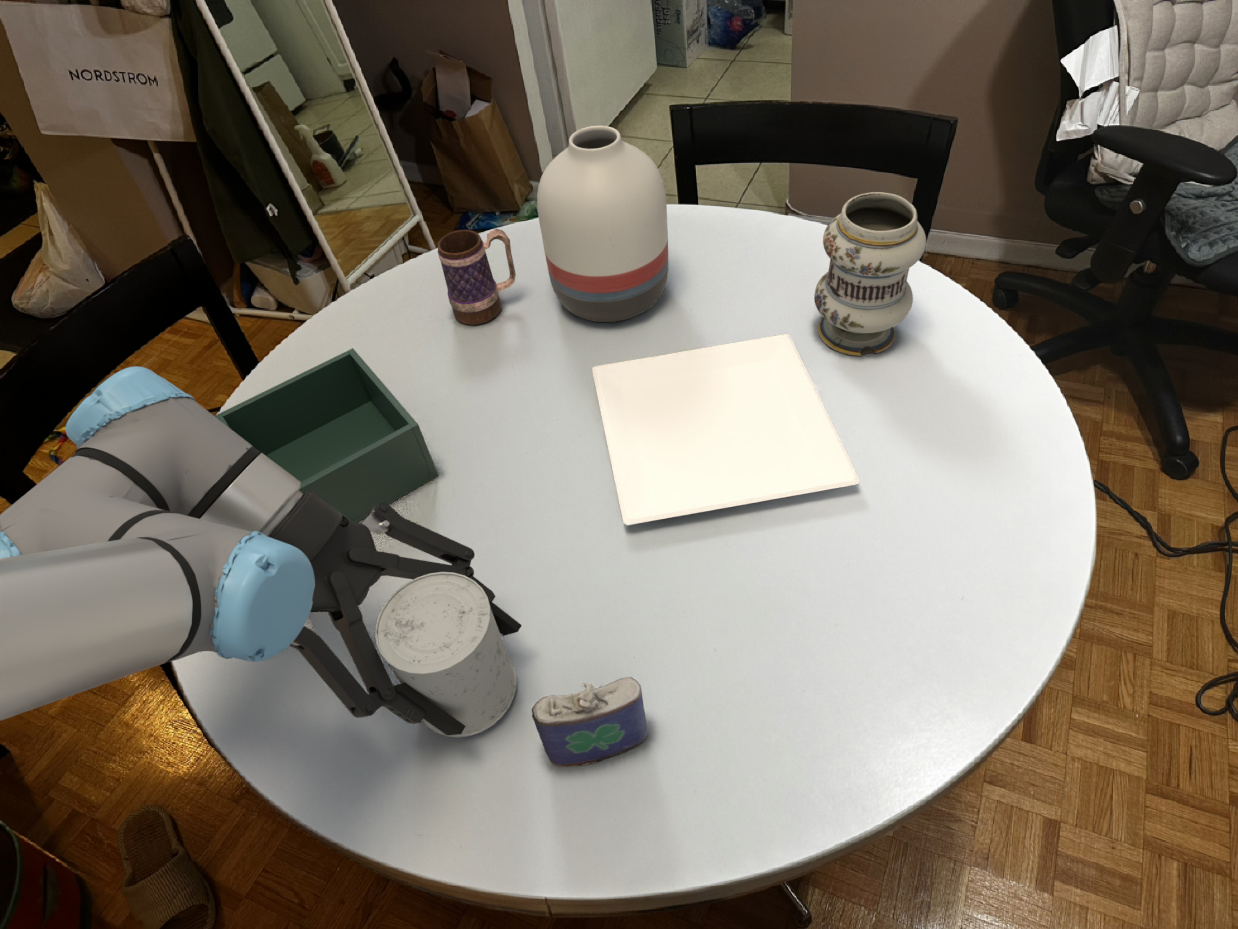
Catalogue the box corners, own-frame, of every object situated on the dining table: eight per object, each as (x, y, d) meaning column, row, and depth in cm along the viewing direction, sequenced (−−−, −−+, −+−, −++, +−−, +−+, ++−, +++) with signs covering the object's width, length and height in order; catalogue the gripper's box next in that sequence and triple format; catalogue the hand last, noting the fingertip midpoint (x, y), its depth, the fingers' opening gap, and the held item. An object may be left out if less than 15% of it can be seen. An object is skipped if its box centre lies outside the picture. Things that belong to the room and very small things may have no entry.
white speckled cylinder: (452, 628, 78) (420, 557, 69) (535, 664, 75) (512, 594, 65) (394, 712, 72) (350, 647, 63) (480, 754, 69) (447, 692, 60)
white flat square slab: (625, 535, 85) (623, 524, 83) (593, 377, 102) (591, 365, 101) (858, 494, 86) (861, 482, 84) (787, 344, 103) (789, 331, 102)
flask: (644, 717, 71) (636, 662, 63) (652, 748, 69) (645, 695, 61) (544, 742, 70) (524, 690, 62) (550, 774, 68) (529, 725, 60)
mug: (456, 331, 111) (434, 258, 102) (451, 301, 116) (430, 230, 107) (526, 316, 112) (511, 243, 103) (519, 287, 117) (504, 215, 108)
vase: (679, 265, 117) (675, 107, 99) (657, 337, 106) (648, 175, 89) (571, 258, 120) (548, 104, 103) (539, 327, 110) (507, 169, 92)
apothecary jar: (832, 370, 99) (852, 248, 86) (796, 314, 107) (809, 194, 94) (921, 350, 100) (954, 225, 87) (878, 296, 108) (903, 174, 95)
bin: (300, 555, 87) (266, 506, 80) (247, 466, 97) (213, 415, 90) (438, 475, 93) (418, 424, 86) (375, 399, 103) (352, 347, 96)
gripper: (341, 442, 72) (521, 586, 79) (165, 645, 59) (400, 797, 66) (370, 414, 66) (562, 571, 73) (183, 631, 53) (438, 799, 60)
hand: (485, 678), depth 69 cm, fingers closed on white speckled cylinder, 9 cm apart
